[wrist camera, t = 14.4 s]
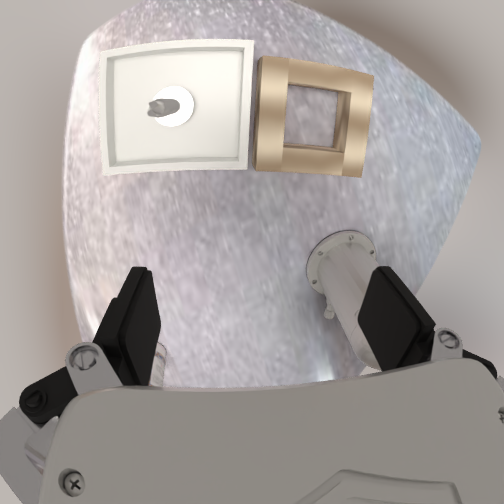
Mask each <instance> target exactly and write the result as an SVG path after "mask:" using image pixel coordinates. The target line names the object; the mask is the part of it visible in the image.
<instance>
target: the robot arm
mask: <svg viewBox="0 0 504 504" xmlns="http://www.w3.org/2000/svg"><path fill="white" fill-rule="evenodd" d="M306 272H307V278H308V280H309V282H310V284H311V286H312V287H313V289H314V290H315V291H317V292H318V293H320V294H323V295H325V296H326V298H327V299H326V303H327V306H326V309H325V312H324V317H325V318H327V319H333V318H334V315H335V313H336V315H337V317H338V319H339V321H340V324H341V326H342V328H343V330H344V332H345V334H346V336H347V338H348V340H349V342H350V344H351V347H352V349H353V351H354V353H355V355H356V356H357V358H358V359H359V360H360V361H361V362H362V363H364V364H365V365H367V366H369V367H371V368H374V369H378V370H381V371H382V372H378V373H372V374H367V375H361V376H355V377H349V378H343V379H336V380H328V381H321V382H312V383H303V384H292V385H280V386H264V387H240V388H190V387H163V386H149V381H150V376H151V371H152V366H153V361H154V356H155V351H156V347H157V342H158V338H159V333H160V329H161V320H160V315H159V310H158V305H157V300H156V294H155V288H154V283H153V277H152V272H151V271H149V270H147V268H146V267H132V268H131V270H130V272H129V274H128V276H127V278H126V280H125V282H124V284H123V286H122V288H121V290H120V293H119V295H118V297H117V298H113V299H112V301H111V302H110V304H109V307H108V309H107V311H106V313H105V315H104V317H103V319H102V322H101V324H100V326H99V328H98V331H97V333H96V335H95V337H94V340H93V342H92V343H91V342H83V343H80V344H77V345H76V346H74V347H72V348H71V349H70V350H69V351H68V353H67V355H66V359H65V362H66V366H65V367H63V368H61V369H60V370H58V371H56V372H54V373H52V374H50V375H48V376H47V377H45V378H43V379H41V380H39V381H37V382H35V383H33V384H31V385H30V386H28V387H26V388H25V389H24V390H23V392H22V393H21V396H20V400H19V404H20V406H19V407H18V408H17V409H16V408H15V407H13V408H12V409H11V410H10V411H9V412H8V413H7V414H6V415H5V416H4V417H3V418H2V419H1V420H0V474H1V476H2V477H3V478H4V480H5V481H6V483H7V484H8V485H9V487H10V488H11V489H12V491H13V492H14V493H15V495H16V496H17V497H18V498H19V500H20V501H21V502H22V503H23V504H504V379H503V378H502V377H501V376H499V377H498V378H497V371H496V369H495V367H494V365H493V364H492V363H491V362H490V361H488V360H486V359H484V358H481V357H479V356H477V355H475V354H472V353H470V352H468V351H466V350H464V349H462V346H463V345H462V340H461V338H460V337H459V335H458V334H457V333H455V332H454V331H452V330H450V329H447V328H440V329H438V330H436V332H435V331H434V326H435V325H436V324H435V322H434V321H433V320H432V318H431V317H430V316H429V314H428V313H427V312H426V311H425V309H424V308H423V306H422V305H421V304H420V303H419V301H418V300H417V299H416V298H415V296H414V295H413V294H412V293H411V291H410V290H409V289H408V288H407V286H406V285H405V284H404V283H403V282H402V280H401V279H400V278H399V277H398V276H397V274H396V273H395V272H394V271H393V270H392V269H391V267H389V266H379V264H378V263H377V262H376V251H375V247H374V245H373V243H372V242H371V241H370V240H369V239H368V238H367V237H366V236H365V235H364V234H362V233H360V232H356V231H342V232H338V233H335V234H333V235H331V236H329V237H327V238H326V239H324V240H323V241H322V242H321V243H320V244H319V245H318V246H317V247H316V248H315V249H314V251H313V252H312V254H311V256H310V258H309V260H308V263H307V271H306Z"/></svg>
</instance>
